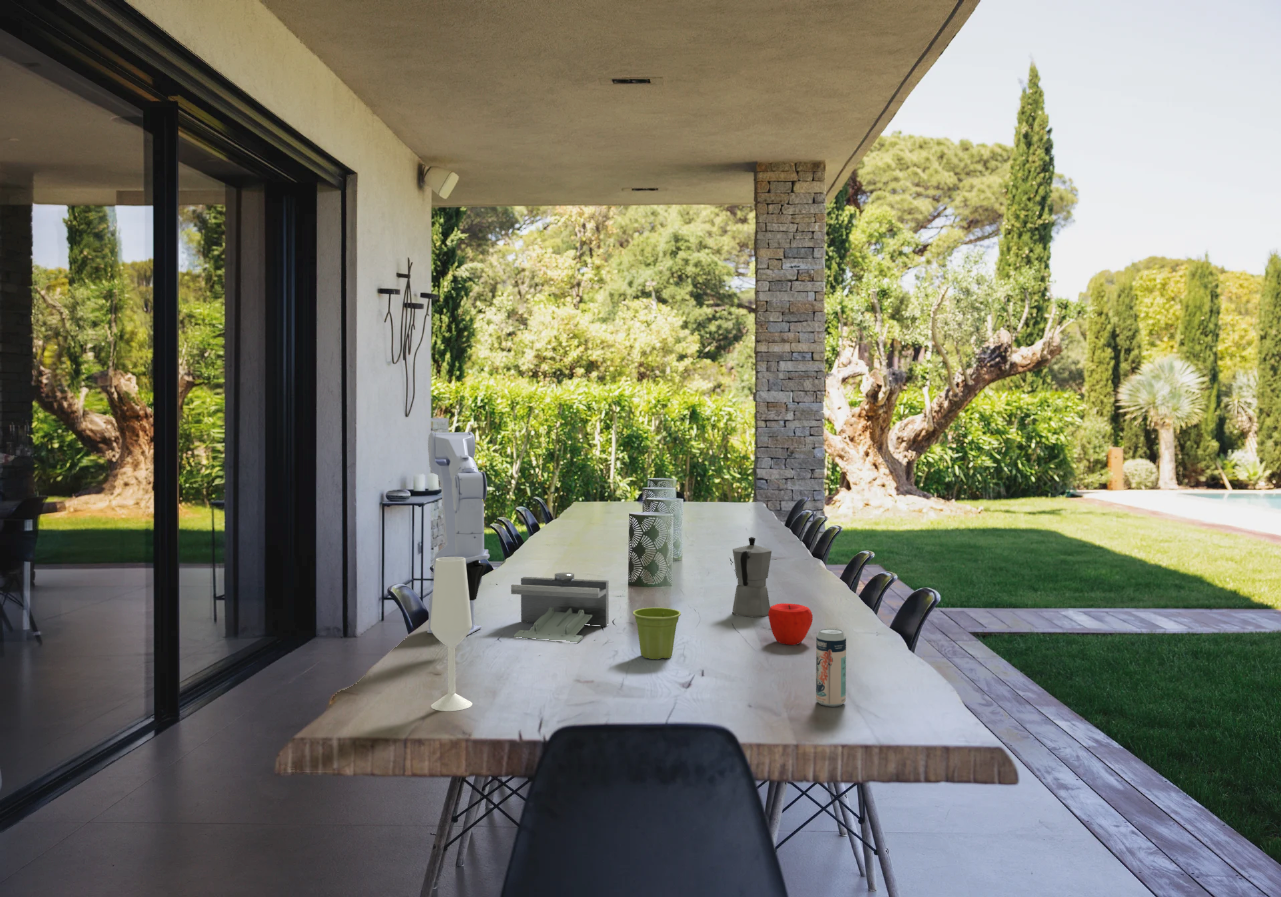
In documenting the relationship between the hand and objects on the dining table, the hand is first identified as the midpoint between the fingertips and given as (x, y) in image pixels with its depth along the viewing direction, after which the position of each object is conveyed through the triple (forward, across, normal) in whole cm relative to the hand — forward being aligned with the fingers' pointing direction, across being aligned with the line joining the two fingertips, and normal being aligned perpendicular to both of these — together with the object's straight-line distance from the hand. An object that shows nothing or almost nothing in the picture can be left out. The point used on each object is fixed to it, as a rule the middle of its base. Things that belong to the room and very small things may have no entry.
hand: (470, 599), depth 205 cm
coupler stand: (+10, +24, -11) cm, 28 cm away
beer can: (+10, -21, -73) cm, 77 cm away
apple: (+10, +21, -62) cm, 66 cm away
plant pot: (+10, +3, -38) cm, 39 cm away
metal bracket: (+11, +16, -13) cm, 24 cm away
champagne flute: (+10, -37, -13) cm, 41 cm away
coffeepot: (+10, +48, -50) cm, 70 cm away
